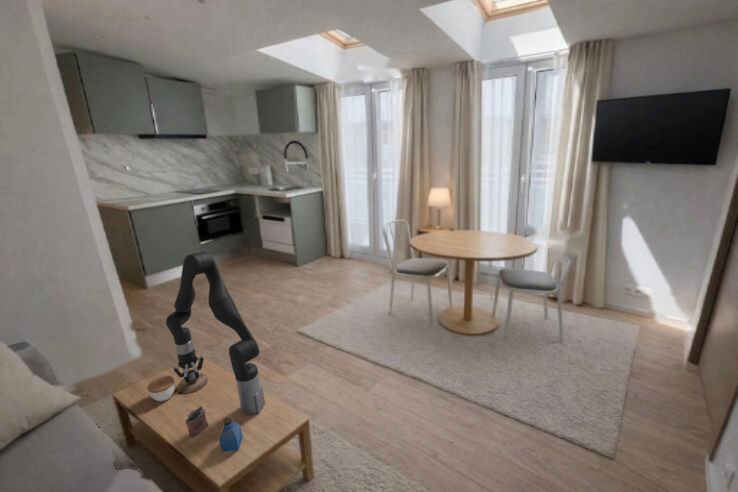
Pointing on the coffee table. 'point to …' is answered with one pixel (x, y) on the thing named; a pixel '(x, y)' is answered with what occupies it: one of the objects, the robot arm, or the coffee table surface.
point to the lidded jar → (161, 388)
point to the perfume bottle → (230, 435)
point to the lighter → (196, 422)
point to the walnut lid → (192, 382)
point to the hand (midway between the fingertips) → (192, 379)
